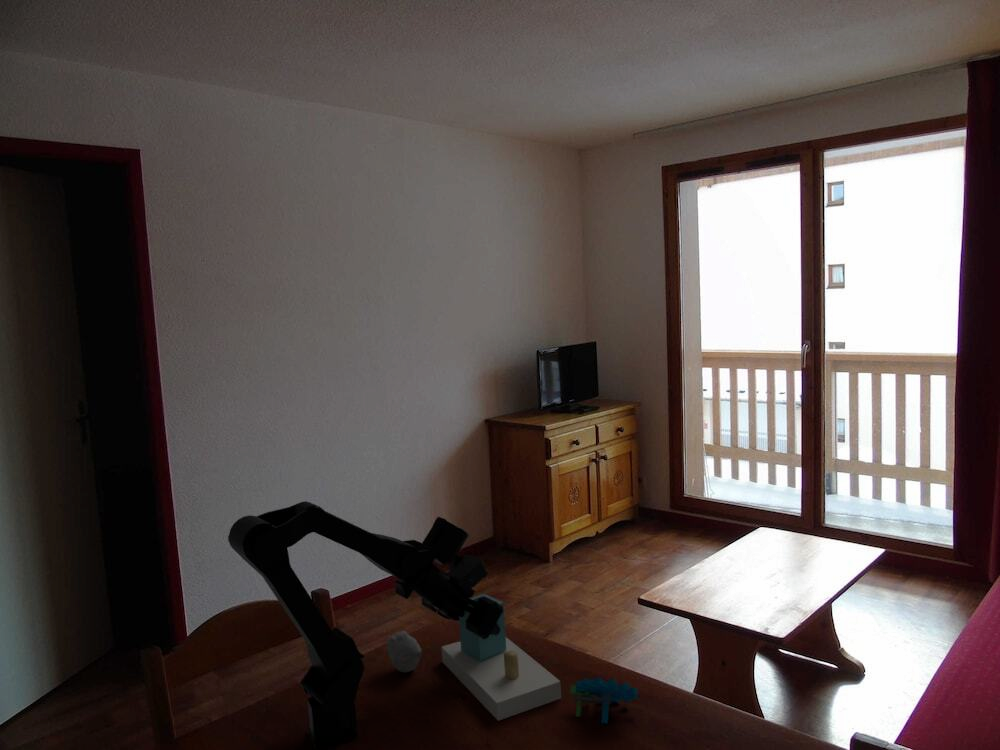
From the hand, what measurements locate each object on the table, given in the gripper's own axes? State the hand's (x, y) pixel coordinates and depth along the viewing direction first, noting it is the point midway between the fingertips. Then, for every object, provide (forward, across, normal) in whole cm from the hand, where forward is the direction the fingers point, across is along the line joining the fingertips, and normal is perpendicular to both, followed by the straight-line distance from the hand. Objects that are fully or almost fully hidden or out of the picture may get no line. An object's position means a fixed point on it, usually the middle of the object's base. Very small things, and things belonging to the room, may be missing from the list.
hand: (488, 626), depth 133 cm
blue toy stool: (+8, -26, +3) cm, 27 cm away
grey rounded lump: (-4, +9, +14) cm, 18 cm away
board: (+3, -5, +7) cm, 9 cm away
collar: (+2, 0, +4) cm, 4 cm away
